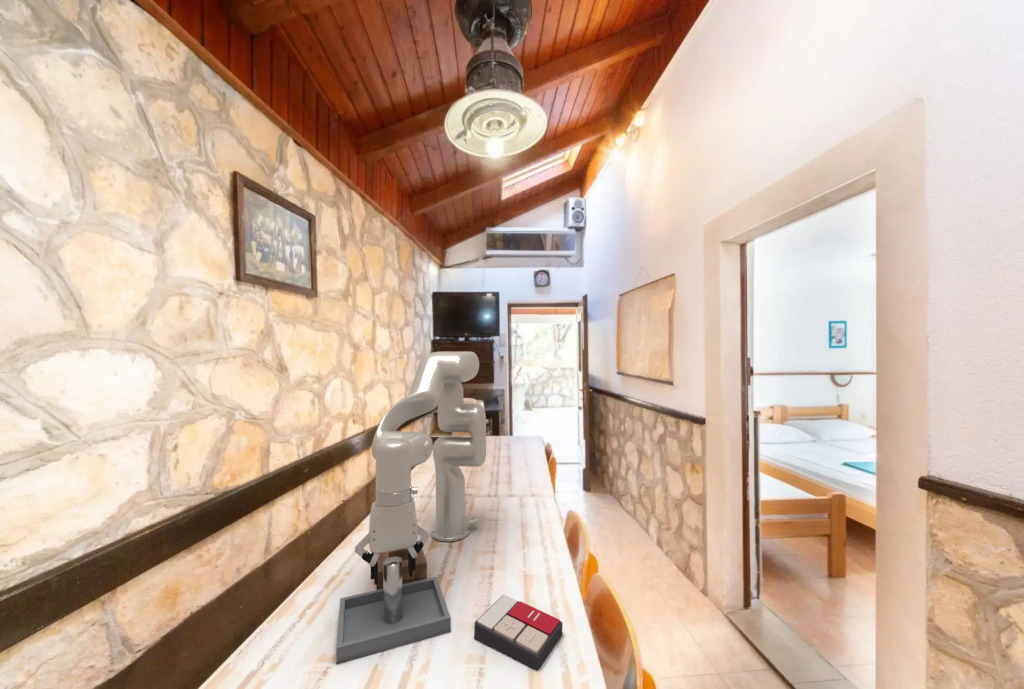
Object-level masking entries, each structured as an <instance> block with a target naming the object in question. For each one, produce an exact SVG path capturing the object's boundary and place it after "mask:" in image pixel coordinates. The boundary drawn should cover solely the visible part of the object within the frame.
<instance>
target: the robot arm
mask: <svg viewBox="0 0 1024 689" xmlns="http://www.w3.org/2000/svg"><path fill="white" fill-rule="evenodd" d="M479 369H480V360H479V357H478V355H477V353H475V352H473V351H434V352H430V353H428V354H426V355H424V356H423V357H422V358H421V359H420V360H419V363H418V366H417V369H416V372H415V375H414V377H413V381H412V382H411V385H410V389H409V391H408V394H406V395H405V396H404V397H403V398H401V399H399V400H398V401H397V402H396V403H395V404H393V406H391V407H390V408H389V409H388V410H387V411H386V412H385V413H384V414H383V416H382V417H381V419H380V421H379V423H378V425H377V428H376V430H375V433H374V436H373V439H372V443H371V454H372V455H371V456H372V458H373V459H374V460H375V501H373V502H372V503H371V507H370V513H369V526H368V533H367V534H366V535H365V536H364V537H363V538H362V540H360V541H359V542H358V543H357V545H355V546H354V552H355V553H356V555H358V556H359V557H360V558H362V560H363V561H364V562H365V563H367V564H369V567H370V580H373V584H374V586H376V585H377V584H378V561H377V559H378V557H379V555H380V553H383V552H388V551H393V550H399V549H404V548H407V549H408V551H409V554H408V573H409V577H413V570H415V569H416V557H417V554H418V553H419V552H420V550H421V549H424V546H425V544H427V542H428V541H429V540H430V538H433V539H434V540H437V541H439V542H445V543H446V542H456V541H460V540H462V539H464V538H466V537H467V536H468V535H469V534H470V533H471V532H470V530H471V528H470V527H471V526H472V525H474V526H476V525H479V524H480V518H479V517H474V516H471V515H470V516H468V517H467V516H466V481H465V480H466V479H465V475H464V473H463V470H462V469H461V467H469V468H471V467H473V468H474V467H476V468H477V467H481V466H483V465H484V463H485V461H486V458H487V416H486V411H485V408H484V406H483V405H481V404H480V403H473V402H472V403H471V402H469V403H465V402H464V386H463V385H462V383H465V382H468V381H470V380H472V379H474V378H475V377H477V374H478V372H479ZM436 408H437V425H438V429H439V430H440V431H442V432H446V433H462V434H463V433H467V434H469V435H470V436H465V435H464V436H463V435H444V436H440V437H438V438H437V439H436V440H435V441H434V443H433V440H432V438H431V436H430V435H428V434H427V433H424V432H421V431H420V432H419V431H398V429H399V427H401V426H402V425H403V424H405V423H406V422H407V421H410V420H412V419H413V418H416V417H419V416H422V415H424V414H427V413H429V412H431V411H433V410H435V409H436ZM431 456H432V457H433V462H434V463H433V464H434V469H435V525H434V526H433V527H432V528H431V529H430V534H429V532H427V531H426V530H424V529H423V528H422V527H421V526H419V525H418V519H417V512H416V511H417V510H416V503H415V498H414V497H413V496H414V495H417V494H418V493H419V492H418V487H414V486H412V467H415V466H419V465H421V464H424V463H425V462H427V460H429V458H430V457H431ZM430 535H431V536H430ZM418 536H420V539H419V540H418ZM417 541H418V542H417ZM367 545H369V551H370V552H369V551H368V550H366V549H365V547H367Z"/></svg>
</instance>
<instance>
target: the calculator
mask: <svg viewBox="0 0 1024 689" xmlns="http://www.w3.org/2000/svg"><path fill="white" fill-rule="evenodd" d="M473 629H474V632H473V639H474V641H476V642H478V643H481V644H483V645H484V646H486V647H488V648H493V649H494V650H496V651H498V652H500V653H502V654H503V655H504V656H507V657H508V658H511V660H512V659H513V661H516V662H518V663H520V664H521V665H524V666H526V667H528V668H529V669H531V670H534V671H535V672H537V671H539V670H540V668H541V667H542V665H543V664H544V663H545V661H546V660H547V659H548V657H549V655H550V654H551V653H552V651H553V649H554V648H555V646H556V645H557V644H558V642H559V641H560V639H561V638H562V636H563V621H562V620H560V619H559V618H557V617H554V616H553V615H551V614H548V613H546V612H544V611H542V610H540V609H538V608H536V607H533V606H532V605H529V604H527V603H526V602H523V601H519V600H517V599H515V598H513V597H510V596H508V595H506V594H502V595H501V596H500V597H499V598H498V599H497V600H496V601H495V602H494V603H493V604H492V605H491V606H490V607H489V608H488V609H487V610H486V611H485V612H483V614H481V616H480V617H478V619H476V621H474V628H473Z"/></svg>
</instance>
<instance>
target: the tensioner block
mask: <svg viewBox="0 0 1024 689" xmlns="http://www.w3.org/2000/svg"><path fill="white" fill-rule="evenodd" d="M418 541H419V540H417V542H418ZM423 549H424V548H422V549H421V550H420V552H419V553H418V554H417V557H416V569H415V570H413V577H409V573H408V554H409V551H408V549H407V548H404V549H399V550H393V551H388V552H383V553H380V555H379V557H378V559H377V561H378V584H377V585H375V590H379V589H383V562H384V560H386V559H387V558H390V557H400V558H402V584H406V583H410V582H415V581H419V580H424V579H428V565H427V564H428V561H427V559H426V555H425V552H424V550H423Z"/></svg>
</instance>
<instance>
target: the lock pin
mask: <svg viewBox="0 0 1024 689" xmlns="http://www.w3.org/2000/svg"><path fill="white" fill-rule="evenodd" d="M383 594H384V621H385V622H386V623H394V622H397V621H399V620H400V619H401V618H402V616H403V597H402V558H400V557H390V558H387V559H386V560H384V562H383Z"/></svg>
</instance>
